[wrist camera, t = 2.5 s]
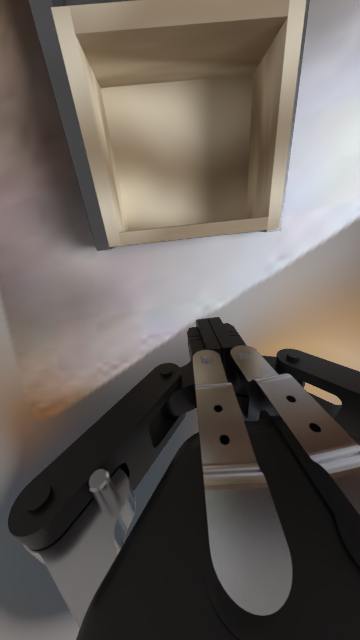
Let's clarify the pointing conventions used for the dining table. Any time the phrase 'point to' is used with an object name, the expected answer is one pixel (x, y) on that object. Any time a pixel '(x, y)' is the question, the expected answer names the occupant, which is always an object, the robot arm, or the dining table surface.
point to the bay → (57, 72)
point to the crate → (184, 111)
